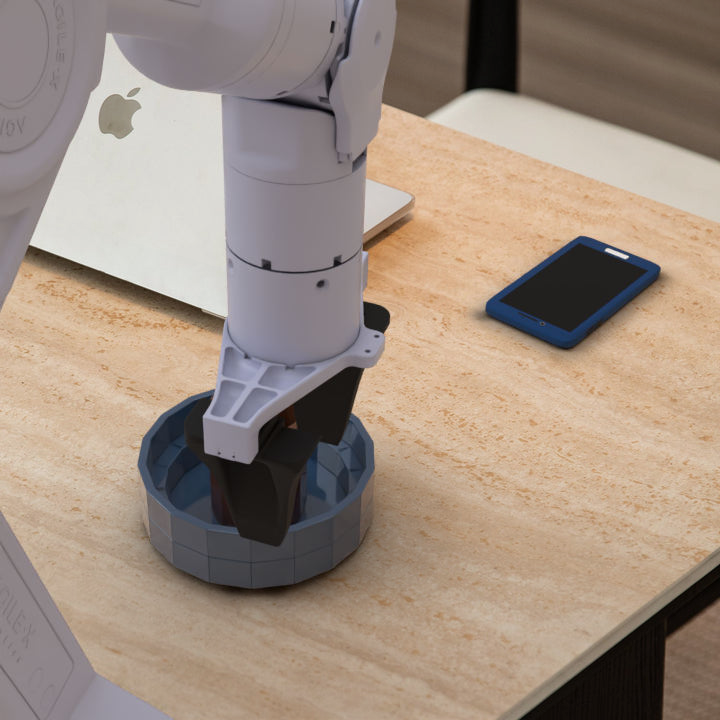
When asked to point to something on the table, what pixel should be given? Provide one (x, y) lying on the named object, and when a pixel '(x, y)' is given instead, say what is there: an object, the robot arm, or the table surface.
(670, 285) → the table surface
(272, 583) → the bowl
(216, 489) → the cup
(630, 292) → the cell phone
